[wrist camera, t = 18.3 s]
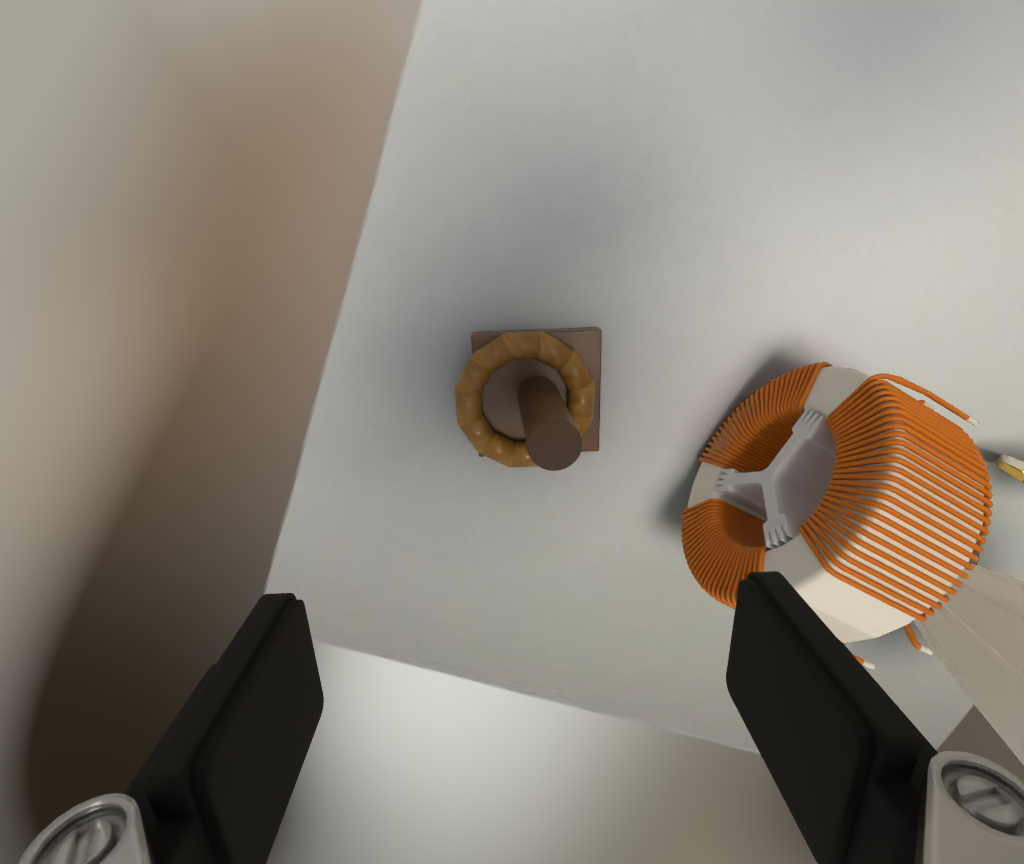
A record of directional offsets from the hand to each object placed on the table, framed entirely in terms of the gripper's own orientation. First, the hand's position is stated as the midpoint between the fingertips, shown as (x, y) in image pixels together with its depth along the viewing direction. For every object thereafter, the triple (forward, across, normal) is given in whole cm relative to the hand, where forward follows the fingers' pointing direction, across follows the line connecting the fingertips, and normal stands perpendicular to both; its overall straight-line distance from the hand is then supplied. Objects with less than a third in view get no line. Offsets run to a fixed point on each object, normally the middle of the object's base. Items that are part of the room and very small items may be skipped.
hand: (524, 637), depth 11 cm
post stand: (+24, -2, +1) cm, 24 cm away
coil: (+24, -17, +6) cm, 30 cm away
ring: (+22, -1, +1) cm, 22 cm away
